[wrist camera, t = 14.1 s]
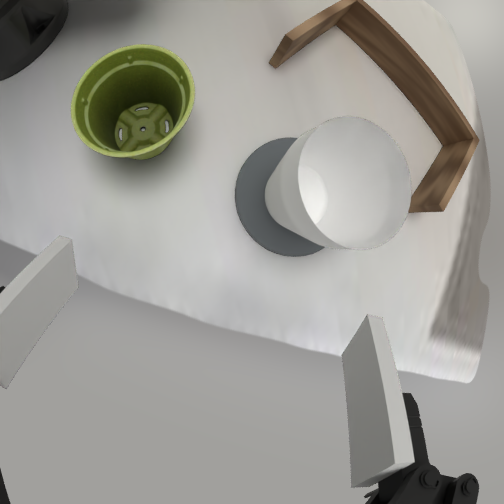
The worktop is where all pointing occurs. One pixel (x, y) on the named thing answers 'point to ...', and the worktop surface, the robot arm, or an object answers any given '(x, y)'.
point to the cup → (341, 185)
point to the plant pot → (133, 101)
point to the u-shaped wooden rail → (409, 82)
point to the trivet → (254, 205)
